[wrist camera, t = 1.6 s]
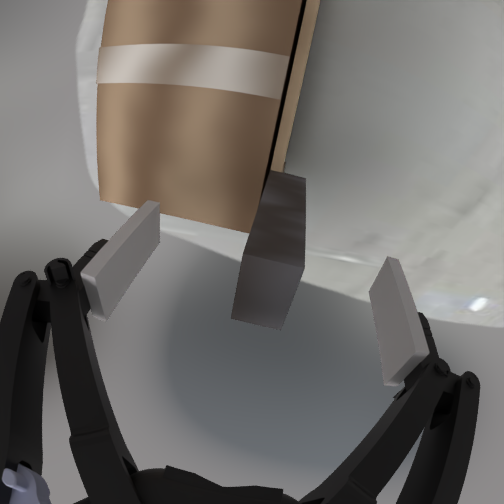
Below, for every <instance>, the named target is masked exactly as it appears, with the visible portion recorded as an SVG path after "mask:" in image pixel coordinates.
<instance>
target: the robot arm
mask: <svg viewBox="0 0 504 504" xmlns="http://www.w3.org/2000/svg"><path fill="white" fill-rule="evenodd" d="M159 243H160V202H155V201H150V200H147V201H146V202H145V203H144V204H143V205H142V206H141V207H140V208H139V209H138V210H137V211H136V212H135V213H134V214H133V215H132V216H131V217H130V218H129V219H128V221H127V222H126V223H125V224H124V225H123V226H122V227H121V228H120V229H119V230H118V231H117V232H116V233H115V234H114V236H112V237H111V239H110V240H105V239H102V240H100V241H98V242H96V243H94V244H93V245H92V246H91V247H90V248H89V250H88V251H87V252H86V253H85V254H84V256H82V257H81V258H80V259H79V260H78V262H77V263H76V264H75V265H74V266H73V267H72V264H71V262H70V261H69V260H68V259H65V258H57V259H54V260H52V261H50V262H49V263H48V264H47V265H46V266H45V269H44V272H45V275H46V278H47V280H38V278H37V275H36V273H35V272H33V271H25V272H23V273H20V274H19V275H18V276H17V277H16V279H15V280H14V282H13V285H12V288H11V291H10V294H9V297H8V300H7V302H6V306H5V309H4V312H3V315H2V318H1V322H0V504H51V502H50V499H49V495H50V491H49V488H48V485H47V483H46V482H45V480H44V479H43V478H42V477H41V475H42V464H43V452H42V451H43V450H42V404H43V386H44V375H45V365H46V355H47V348H48V342H49V335H50V329H51V327H52V337H53V346H54V353H55V360H56V366H57V373H58V378H59V384H60V389H61V394H62V399H63V403H64V407H65V412H66V416H67V419H68V423H69V427H70V431H71V436H70V438H69V442H70V447H71V451H72V454H73V457H74V460H75V463H76V466H77V468H78V471H79V474H80V477H81V479H82V482H83V484H84V487H85V489H86V492H87V494H88V497H87V498H85V499H83V500H80V501H78V502H76V503H74V504H377V501H376V497H377V496H378V494H379V493H380V492H381V490H382V489H383V488H384V486H385V485H386V484H387V483H388V481H389V480H390V479H391V477H392V476H393V474H394V473H395V471H396V470H397V469H398V468H399V466H400V465H401V463H402V462H403V460H404V459H405V457H406V456H407V454H408V453H409V451H410V450H411V448H412V447H413V445H414V444H415V442H416V440H417V439H418V437H419V435H420V434H421V432H422V430H423V429H424V431H423V435H422V438H421V441H420V444H419V447H418V450H417V453H416V456H415V459H414V461H413V464H412V466H411V469H410V472H409V475H408V477H407V479H406V482H405V484H404V487H403V489H402V491H401V493H400V495H399V498H398V500H397V502H396V504H457V503H458V500H459V497H460V494H461V491H462V487H463V484H464V480H465V476H466V473H467V469H468V464H469V460H470V455H471V450H472V446H473V440H474V435H475V428H476V422H477V414H478V405H479V395H480V382H479V380H478V378H477V377H476V375H475V374H474V373H472V372H470V371H467V372H465V373H464V374H463V375H462V376H458V375H456V374H454V373H452V372H451V371H450V368H449V366H448V364H447V363H446V362H445V361H444V360H442V359H441V358H439V356H438V353H437V349H436V346H435V342H434V339H433V337H432V333H431V330H430V326H429V323H428V320H427V319H426V318H425V316H424V315H423V313H420V312H417V309H416V306H415V303H414V300H413V297H412V294H411V292H410V289H409V286H408V283H407V280H406V278H405V275H404V272H403V270H402V267H401V265H400V262H399V259H395V258H391V257H388V256H387V258H386V260H385V262H384V264H383V266H382V268H381V270H380V272H379V274H378V276H377V277H376V279H375V281H374V283H373V285H372V287H371V288H370V290H369V295H370V300H371V305H372V310H373V315H374V321H375V327H376V333H377V339H378V345H379V351H380V358H381V365H382V372H383V381H384V385H388V386H398V385H399V384H400V383H401V382H402V381H403V380H404V383H405V387H404V388H403V389H402V390H401V391H399V392H398V393H397V394H396V395H395V396H394V397H393V398H395V399H394V401H393V402H392V404H391V405H390V406H389V408H388V409H387V410H386V412H385V413H384V414H383V416H382V417H381V418H380V420H379V421H378V422H377V424H376V425H375V426H374V427H373V428H372V430H371V431H370V432H369V433H368V434H367V436H366V437H365V438H364V439H363V440H362V441H361V443H360V444H359V445H358V446H357V447H356V448H355V450H354V451H353V452H352V453H351V454H350V455H349V456H348V457H347V458H346V459H345V460H344V462H343V463H342V464H341V465H340V466H339V467H338V468H337V469H336V470H335V471H334V472H333V473H332V474H331V475H330V476H329V477H328V478H327V479H326V480H325V481H324V482H323V483H322V484H321V485H320V486H318V487H317V488H316V489H315V490H313V491H311V492H310V493H308V494H307V495H306V496H305V497H303V498H302V499H301V500H300V501H299V502H298V501H297V500H295V499H294V498H292V497H290V496H288V495H286V494H283V489H278V488H269V487H261V486H241V487H222V486H220V485H218V484H215V483H213V482H211V481H209V480H207V479H205V478H203V477H201V476H199V475H197V474H195V473H192V472H188V471H184V470H181V469H177V468H174V467H171V466H168V465H167V466H166V468H165V469H162V468H158V469H157V468H156V469H147V470H142V471H139V470H138V468H137V466H136V464H135V462H134V460H133V458H132V456H131V454H130V452H129V450H128V449H127V446H126V444H125V442H124V439H123V437H122V434H121V432H120V429H119V427H118V424H117V421H116V418H115V416H114V413H113V410H112V407H111V404H110V401H109V398H108V395H107V392H106V389H105V385H104V382H103V379H102V375H101V372H100V368H99V365H98V360H97V357H96V353H95V349H94V345H93V340H92V336H91V331H90V327H89V322H88V317H87V313H88V311H89V310H90V309H91V312H92V314H93V317H95V318H97V319H100V320H103V321H105V322H107V320H108V319H109V317H110V315H111V314H112V312H113V311H114V309H115V307H116V306H117V304H118V303H119V301H120V300H121V298H122V297H123V295H124V294H125V292H126V291H127V289H128V288H129V286H130V285H131V283H132V281H133V280H134V279H135V277H136V276H137V274H138V273H139V271H140V270H141V268H142V267H143V266H144V264H145V263H146V261H147V260H148V258H149V257H150V256H151V254H152V253H153V251H154V250H155V249H156V247H157V246H158V244H159ZM424 427H425V428H424Z"/></svg>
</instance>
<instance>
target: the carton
mask: <svg viewBox="0 0 504 504" xmlns="http://www.w3.org/2000/svg"><path fill="white" fill-rule="evenodd" d="M306 2H307V0H108V4H107V9H106V15H105V21H104V27H103V35H102V42H101V47H100V48H99V55H98V66H97V80H96V84H98V88H97V164H98V180H99V193H100V200H102V201H106V202H111V203H116V204H121V205H125V206H130V207H135V208H140V207H141V206H142V205H143V204H144V203H145V202H146V201H147V200H150V201H155V202H160V213H162V214H166V215H171V216H175V217H180V218H184V219H189V220H193V221H198V222H202V223H206V224H211V225H215V226H219V227H224V228H228V229H232V230H237V231H241V232H245V233H249V234H250V231H251V228H252V225H253V221H254V218H255V215H256V212H257V209H258V206H259V203H260V200H261V197H262V194H263V191H264V188H265V185H266V182H267V179H268V176H269V173H270V170H271V165H272V160H273V156H274V151H275V146H276V142H277V137H278V133H279V128H280V123H281V119H282V114H283V109H284V105H285V100H286V95H287V91H288V86H289V81H290V77H291V72H292V68H293V63H294V58H295V54H296V49H297V44H298V40H299V35H300V30H301V26H302V21H303V16H304V12H305V7H306Z"/></svg>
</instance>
